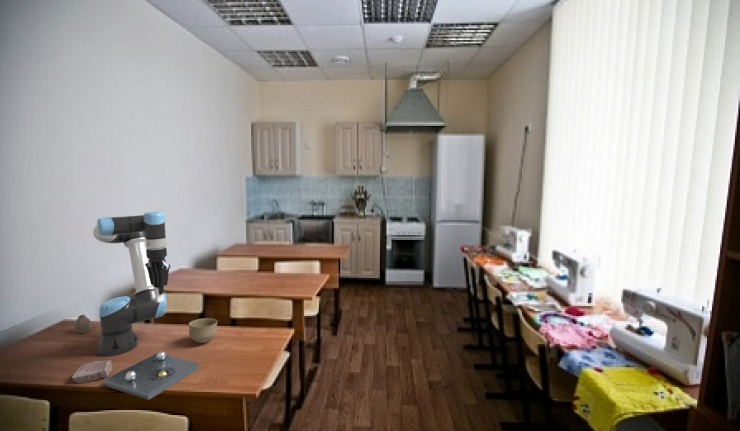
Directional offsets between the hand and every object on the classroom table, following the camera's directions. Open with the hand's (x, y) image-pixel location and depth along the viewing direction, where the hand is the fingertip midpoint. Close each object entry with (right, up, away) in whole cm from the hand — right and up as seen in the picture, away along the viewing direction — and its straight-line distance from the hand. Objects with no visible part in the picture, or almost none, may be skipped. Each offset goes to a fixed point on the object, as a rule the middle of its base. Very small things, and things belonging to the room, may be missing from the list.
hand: (159, 301), depth 153 cm
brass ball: (+10, -26, -14) cm, 31 cm away
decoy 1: (+3, -22, -4) cm, 23 cm away
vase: (-57, -23, +29) cm, 68 cm away
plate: (+5, -28, -12) cm, 30 cm away
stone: (-20, -28, -12) cm, 36 cm away
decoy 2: (0, -24, -19) cm, 31 cm away
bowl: (+11, -24, +19) cm, 32 cm away
